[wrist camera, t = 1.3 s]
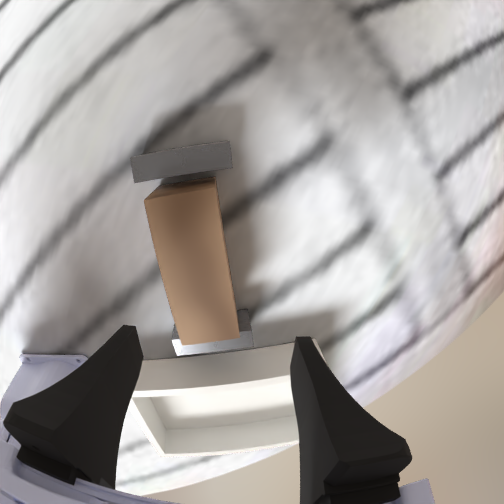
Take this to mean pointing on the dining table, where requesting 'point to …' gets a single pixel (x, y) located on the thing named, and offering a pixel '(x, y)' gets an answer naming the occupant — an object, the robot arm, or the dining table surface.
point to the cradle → (181, 164)
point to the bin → (217, 402)
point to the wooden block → (193, 259)
